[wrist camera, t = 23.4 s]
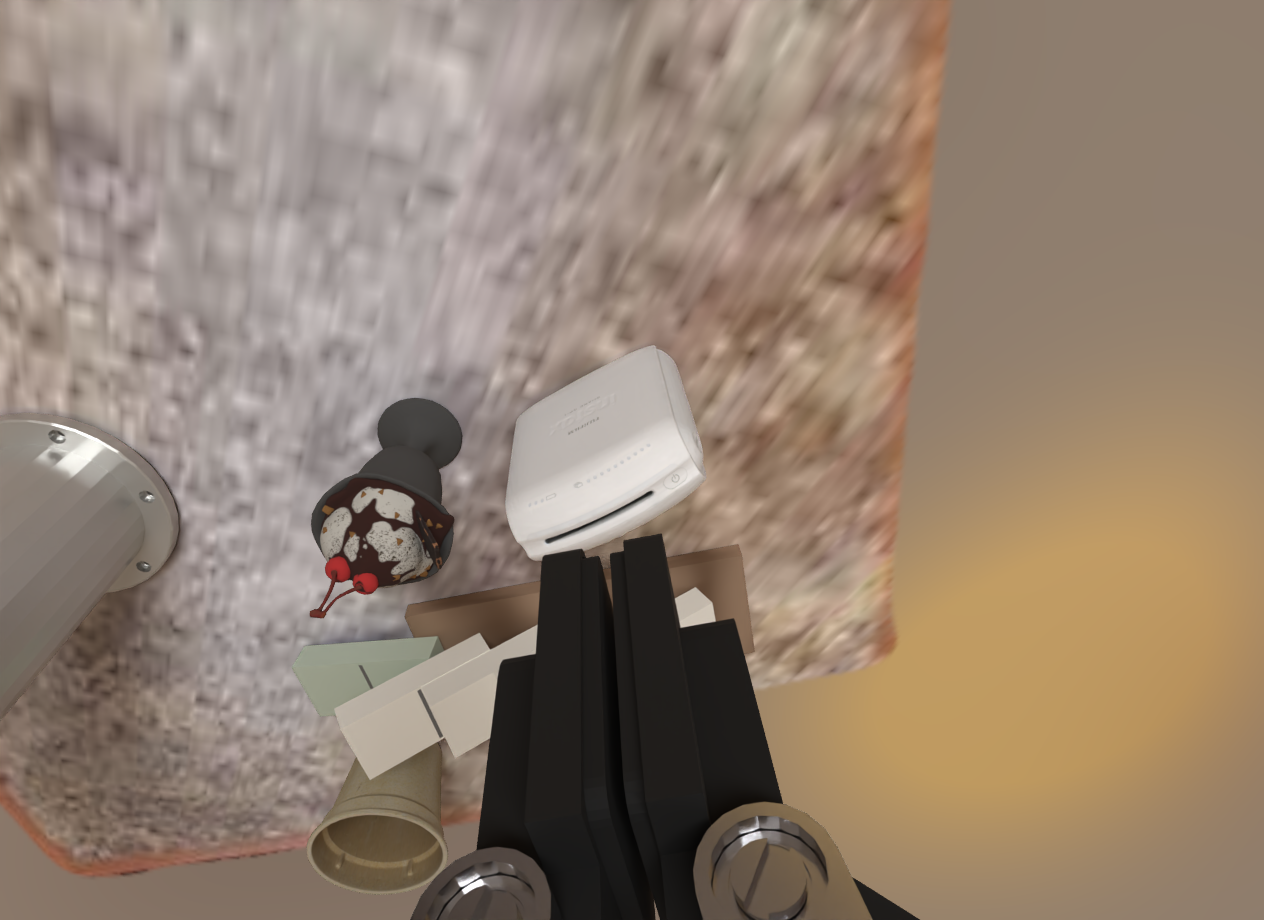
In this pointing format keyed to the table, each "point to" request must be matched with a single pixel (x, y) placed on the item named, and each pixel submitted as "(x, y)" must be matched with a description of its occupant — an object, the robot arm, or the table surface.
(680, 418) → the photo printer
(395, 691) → the domino
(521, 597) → the domino board
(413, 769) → the flower pot
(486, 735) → the domino
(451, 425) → the sundae
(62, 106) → the table surface
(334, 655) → the pale green domino
